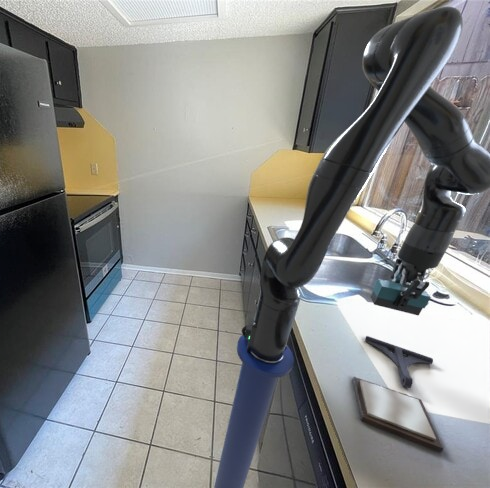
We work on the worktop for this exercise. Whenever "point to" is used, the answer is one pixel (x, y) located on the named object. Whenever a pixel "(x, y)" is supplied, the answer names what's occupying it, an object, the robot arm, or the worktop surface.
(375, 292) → the teal angular block
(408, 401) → the board
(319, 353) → the worktop surface
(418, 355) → the bracket
